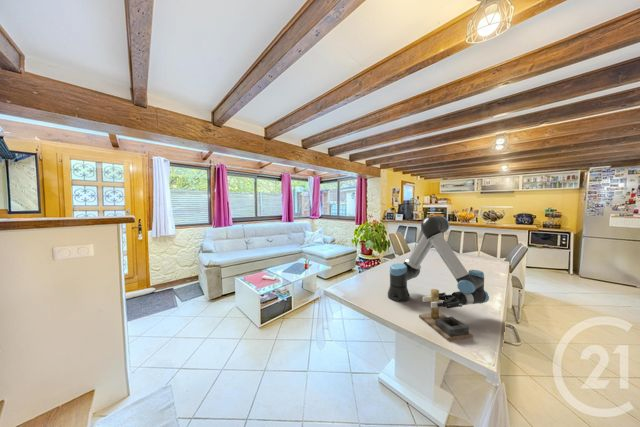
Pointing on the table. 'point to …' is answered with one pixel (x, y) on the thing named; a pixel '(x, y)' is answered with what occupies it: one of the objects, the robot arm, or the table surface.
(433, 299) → the peg
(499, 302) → the table surface
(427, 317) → the board
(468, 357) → the table surface
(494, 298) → the table surface
